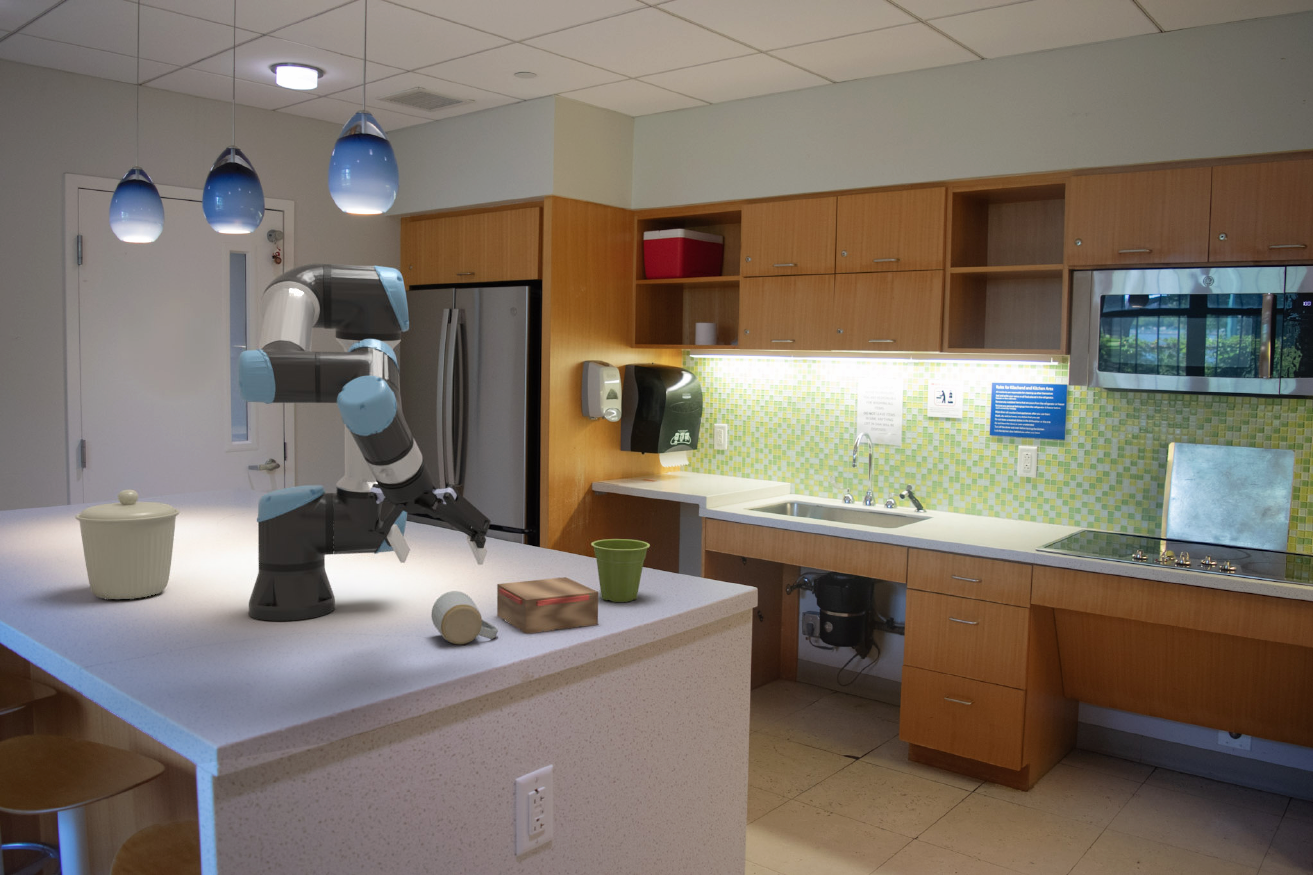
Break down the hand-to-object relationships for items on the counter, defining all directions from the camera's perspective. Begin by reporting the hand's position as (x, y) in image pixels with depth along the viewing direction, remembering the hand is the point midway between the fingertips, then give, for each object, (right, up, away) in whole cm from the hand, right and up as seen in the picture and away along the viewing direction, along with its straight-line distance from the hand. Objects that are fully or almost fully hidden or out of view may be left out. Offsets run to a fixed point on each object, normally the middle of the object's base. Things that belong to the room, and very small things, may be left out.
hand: (443, 557), depth 158 cm
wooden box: (+14, -14, +21) cm, 29 cm away
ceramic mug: (+2, -15, +8) cm, 17 cm away
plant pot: (+27, -13, +38) cm, 49 cm away
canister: (-70, -12, +35) cm, 79 cm away
